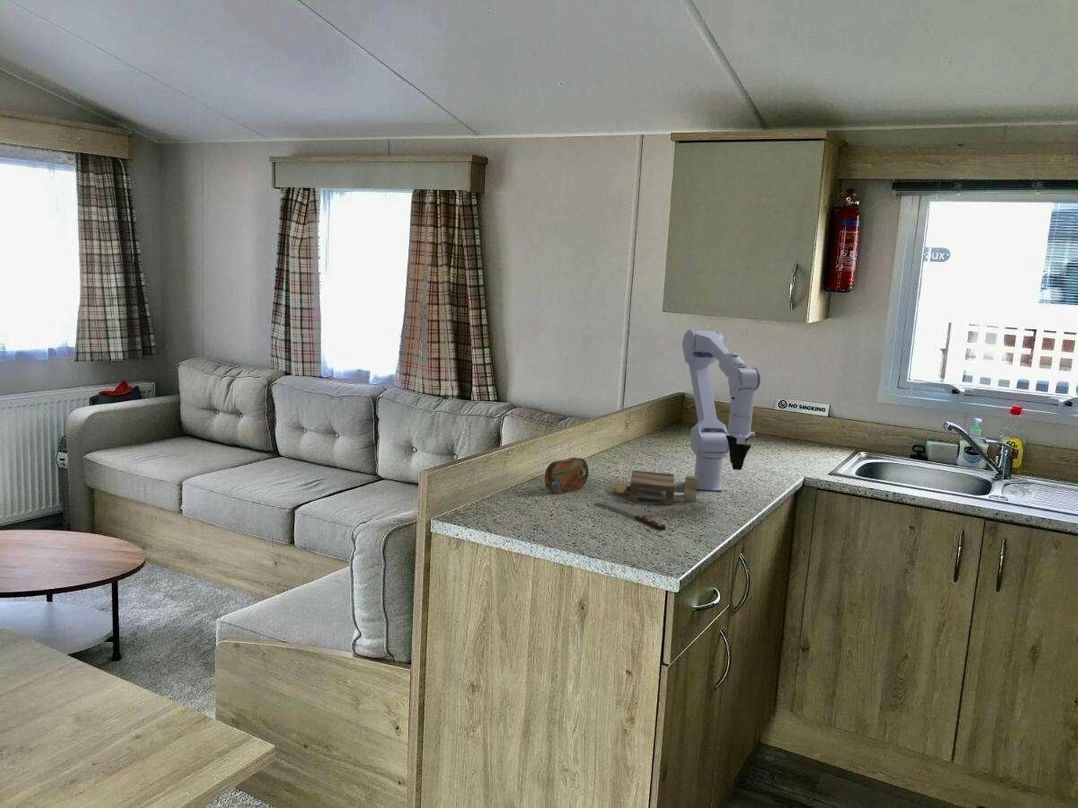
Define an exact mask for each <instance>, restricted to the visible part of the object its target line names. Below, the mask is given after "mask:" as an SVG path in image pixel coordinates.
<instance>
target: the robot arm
mask: <svg viewBox="0 0 1078 808" xmlns="http://www.w3.org/2000/svg"><path fill="white" fill-rule="evenodd" d="M681 342H682V351H683V357H684V362H685V363H687V365H688V367H689V373H690V379H691V386H692V391H693V392H692V393H693V398H694V403H695V409H696V416H697V420H698V421H697V423H696V424H695V425H693V427H691V430H690V448H691V451H692V452H693V455H695V466H694V467H695V468H694V474H693V476H697V477H698V483H697V490H703V491H713V492H714V491H715V492H723V486H722V484H721V482H722V481H721V480H722V470H723V462H724V461H723V460H724V458H726V456H727V454H728V453H729V461H730V464H731V467H732V470H735V471H741V470H742V469H743V466H744V462H745V459H746V456H747V454H748V452H749V451H750V449H751V448H752V444H751V443H747V442H748V440H749V437H751V436H752V437H755V436H756V433H755V431H751V430H752V421H753V411H754V402H755V392H756V391H757V390H758V389H759V387H760V385H761V374H760V372H759V370H758V368H756V367H749V366H748V365H747V364H746V363H745V361H743V359H742V358H741V357H740V356H739V354H738V352H730V351H729V349H728V348H727V347H726V345H725V344H724V335H722V333H721V331H720V330H693V329H687V330H686V332H685V333H684V335H683V339H682V341H681ZM716 360H717V361H718V367H719V369H720V370H721V372H723V374H724V375H725V376H726V377H727V382H728V387H729V391H728V393H729V396H730V404H729V405H730V406H729V415H728V416H729V417H728V423H727V424H728V427H727V425H725V424H724V423H723V422H722V421H720V420H719V419H718V416H717V411H716V406H715V399H714V395H713V388H712V382H711V378H710V372H709V366H710V365H711V364H714V363H715V361H716Z"/></svg>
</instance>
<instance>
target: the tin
mask: <svg viewBox="0 0 1078 808" xmlns="http://www.w3.org/2000/svg"><path fill="white" fill-rule="evenodd" d="M588 477H589V467H588V463H587V462H586V460H585V459H584V458H582V457H569V458H565V459H559V460H555V461H552V462H551V463H549V465H548V466H547V468H546V470H545V472H544V483H545V487H546V489H547V490H548V491H550V492H551V493H554V492H555V494H559V495H560V493H561V494H565V493H568V492H573V491H578V490H581V489H582V488H583V487H584V486H585V484H586V482H587V479H588Z"/></svg>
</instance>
